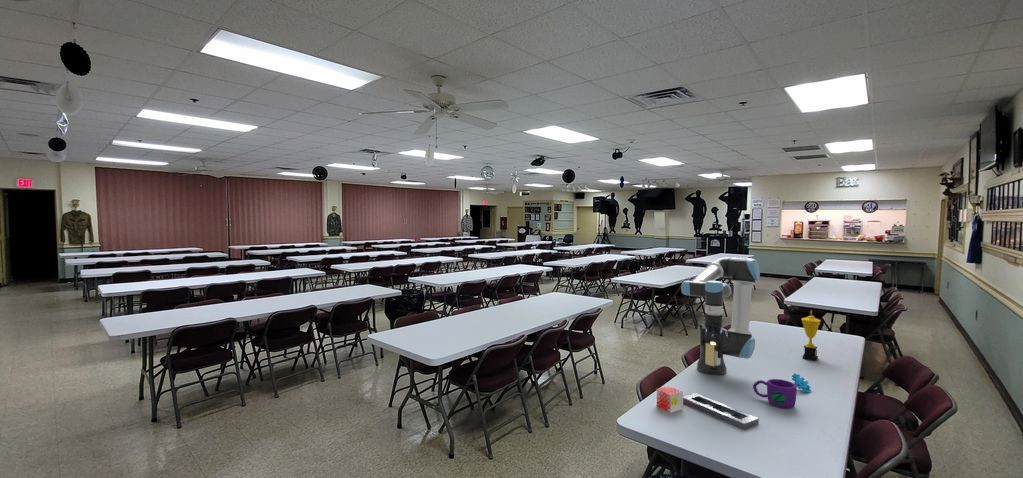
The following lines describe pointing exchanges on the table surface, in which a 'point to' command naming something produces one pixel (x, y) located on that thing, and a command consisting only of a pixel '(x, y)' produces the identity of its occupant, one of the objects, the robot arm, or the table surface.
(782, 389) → the mug
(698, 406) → the rail
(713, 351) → the brass peg
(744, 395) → the table surface
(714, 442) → the table surface
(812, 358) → the trophy
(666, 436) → the table surface
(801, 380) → the gear
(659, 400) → the red patterned cube
